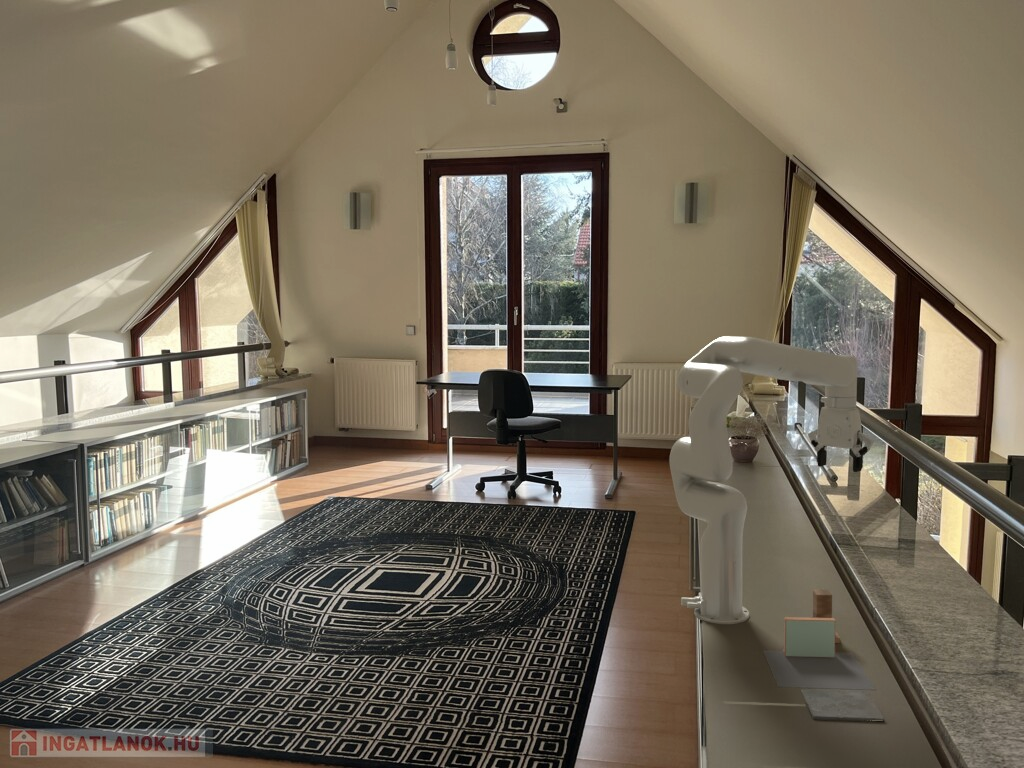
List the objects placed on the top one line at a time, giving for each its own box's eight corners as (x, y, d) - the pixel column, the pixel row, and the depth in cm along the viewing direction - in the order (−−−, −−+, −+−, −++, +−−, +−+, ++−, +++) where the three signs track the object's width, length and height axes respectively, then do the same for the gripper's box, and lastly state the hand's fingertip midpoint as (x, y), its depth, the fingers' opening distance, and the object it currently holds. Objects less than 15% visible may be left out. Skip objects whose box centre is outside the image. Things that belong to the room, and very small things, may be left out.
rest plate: (813, 719, 143) (813, 716, 143) (800, 692, 153) (800, 689, 153) (884, 721, 142) (884, 718, 142) (866, 694, 152) (866, 691, 151)
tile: (785, 656, 167) (785, 619, 166) (783, 653, 169) (783, 617, 168) (835, 658, 166) (835, 620, 165) (833, 655, 167) (833, 618, 166)
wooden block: (811, 644, 174) (811, 597, 173) (804, 632, 180) (805, 587, 179) (840, 644, 173) (840, 597, 172) (832, 633, 179) (833, 587, 178)
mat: (777, 688, 155) (777, 686, 155) (762, 652, 170) (762, 650, 170) (876, 691, 152) (876, 689, 152) (851, 654, 168) (851, 652, 168)
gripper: (801, 401, 211) (801, 465, 212) (865, 407, 197) (864, 475, 199) (817, 398, 215) (816, 461, 217) (880, 404, 202) (879, 471, 204)
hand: (839, 468), depth 208 cm, fingers open, 9 cm apart
